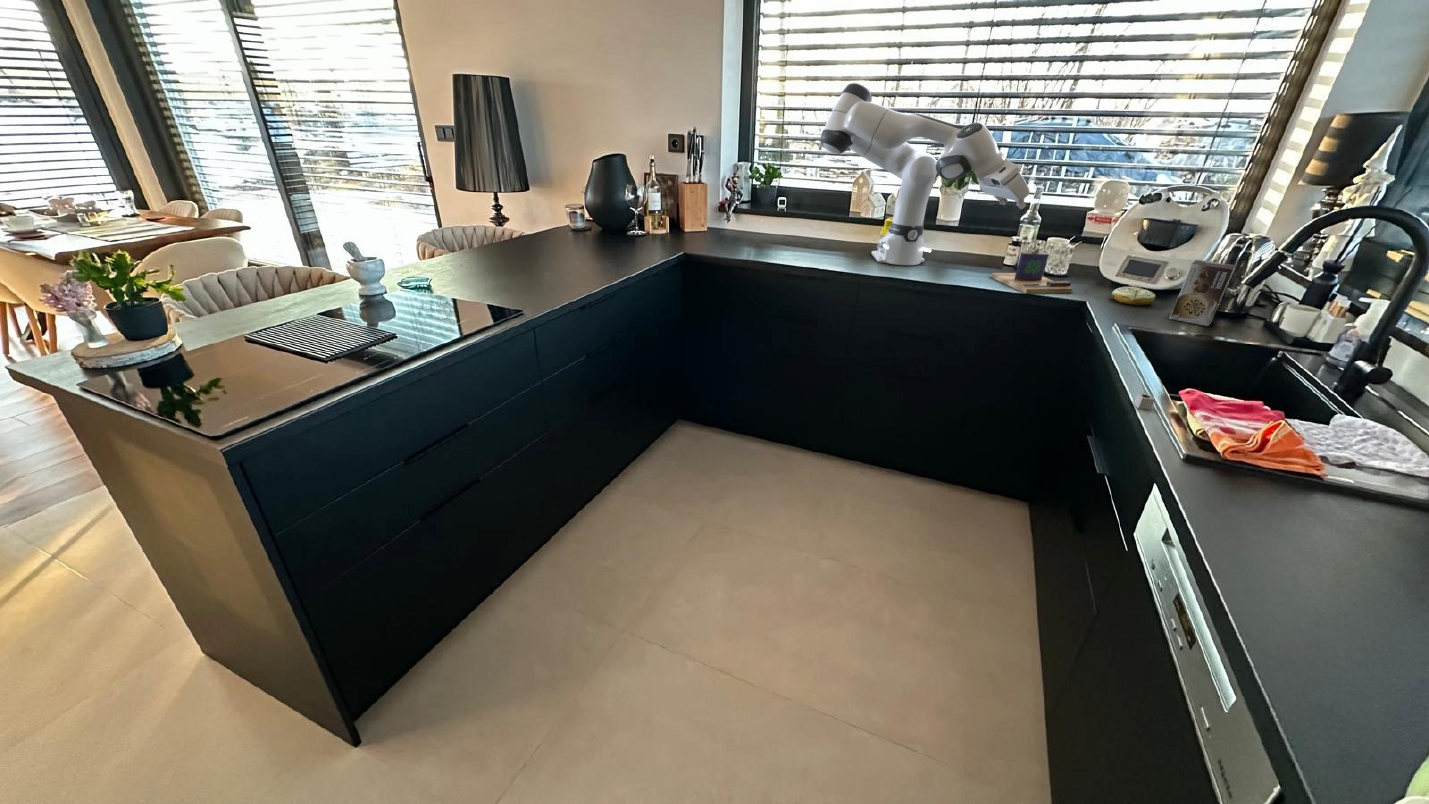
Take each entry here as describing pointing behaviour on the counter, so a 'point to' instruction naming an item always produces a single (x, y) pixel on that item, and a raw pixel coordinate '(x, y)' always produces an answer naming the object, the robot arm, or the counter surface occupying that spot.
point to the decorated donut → (1133, 295)
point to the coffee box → (1202, 292)
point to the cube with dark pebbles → (1144, 401)
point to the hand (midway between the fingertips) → (1013, 205)
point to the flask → (1031, 265)
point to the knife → (1049, 284)
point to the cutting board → (1017, 284)
